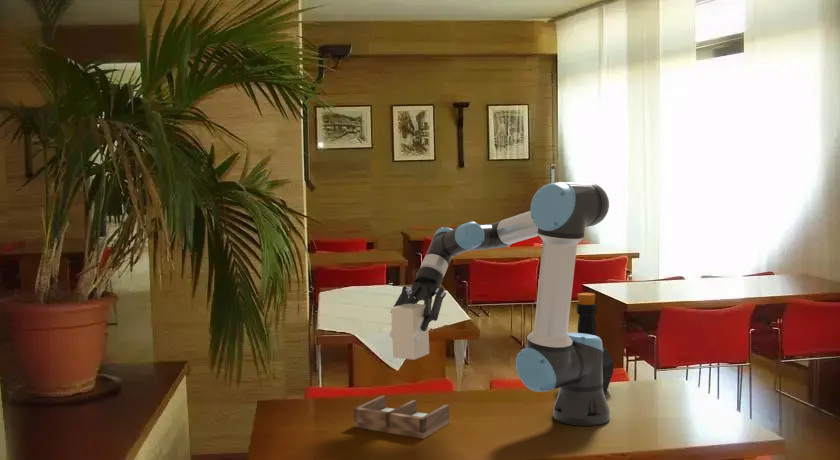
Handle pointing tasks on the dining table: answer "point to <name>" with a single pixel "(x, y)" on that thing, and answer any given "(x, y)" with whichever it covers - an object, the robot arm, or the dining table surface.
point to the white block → (408, 332)
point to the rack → (400, 418)
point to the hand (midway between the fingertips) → (403, 338)
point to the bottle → (593, 331)
